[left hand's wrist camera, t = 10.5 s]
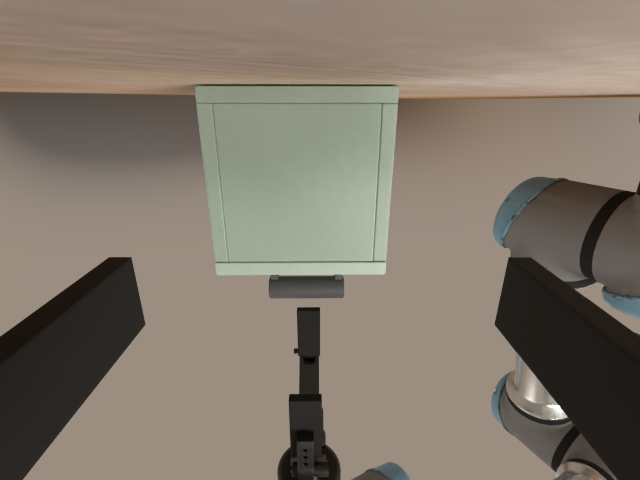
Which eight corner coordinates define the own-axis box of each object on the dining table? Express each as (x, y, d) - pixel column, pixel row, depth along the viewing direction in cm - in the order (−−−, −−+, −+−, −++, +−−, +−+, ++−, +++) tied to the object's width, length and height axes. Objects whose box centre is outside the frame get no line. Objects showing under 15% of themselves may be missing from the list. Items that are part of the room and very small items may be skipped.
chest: (364, 93, 30) (360, 202, 33) (244, 92, 30) (252, 202, 33) (399, 85, 17) (386, 261, 21) (193, 85, 17) (214, 262, 21)
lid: (359, 200, 34) (355, 279, 37) (253, 200, 34) (259, 280, 37) (386, 262, 21) (377, 376, 24) (214, 263, 21) (228, 377, 24)
